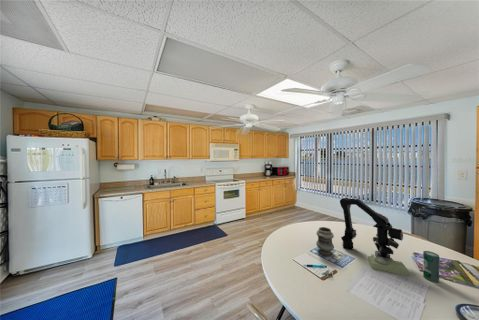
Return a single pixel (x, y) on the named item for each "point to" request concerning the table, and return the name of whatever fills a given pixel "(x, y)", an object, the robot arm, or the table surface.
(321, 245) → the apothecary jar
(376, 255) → the grey stepped block
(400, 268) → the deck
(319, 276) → the table surface
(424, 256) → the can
